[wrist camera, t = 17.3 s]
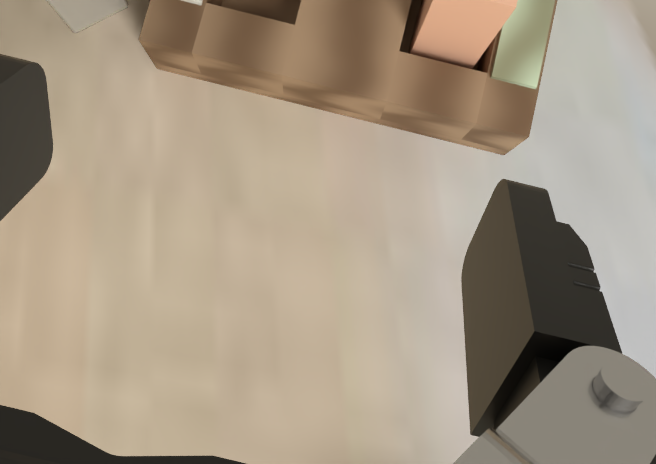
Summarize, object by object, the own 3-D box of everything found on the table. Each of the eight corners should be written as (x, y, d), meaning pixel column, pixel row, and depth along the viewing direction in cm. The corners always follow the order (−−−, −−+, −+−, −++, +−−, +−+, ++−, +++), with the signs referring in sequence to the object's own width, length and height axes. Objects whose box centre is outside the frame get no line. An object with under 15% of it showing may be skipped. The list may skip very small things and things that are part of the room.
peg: (404, 65, 40) (438, -13, 30) (418, 10, 40) (456, -85, 30) (463, 80, 40) (516, 7, 30) (476, 25, 40) (532, -65, 30)
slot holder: (157, 68, 40) (137, 37, 35) (204, -93, 41) (191, -144, 37) (503, 155, 40) (530, 135, 36) (538, -8, 42) (568, -48, 37)
